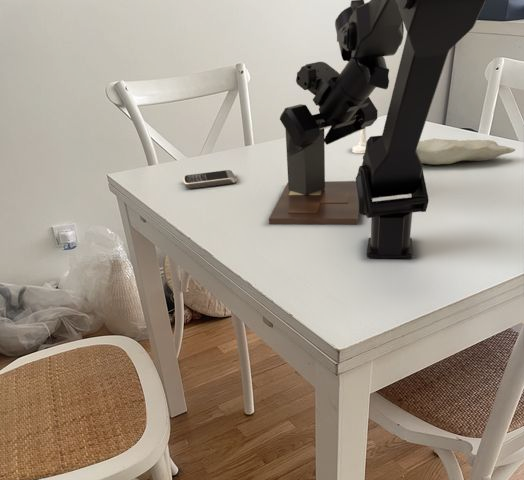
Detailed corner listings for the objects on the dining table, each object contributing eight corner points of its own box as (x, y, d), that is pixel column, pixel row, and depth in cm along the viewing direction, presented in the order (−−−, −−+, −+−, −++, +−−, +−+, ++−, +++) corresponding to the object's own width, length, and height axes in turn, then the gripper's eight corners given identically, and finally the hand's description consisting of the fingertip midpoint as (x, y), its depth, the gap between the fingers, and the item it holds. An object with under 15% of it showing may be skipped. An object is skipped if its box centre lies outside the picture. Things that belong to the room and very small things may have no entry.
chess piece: (350, 153, 126) (351, 107, 120) (353, 147, 130) (354, 102, 124) (371, 153, 124) (373, 106, 119) (374, 147, 128) (376, 102, 123)
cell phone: (183, 182, 117) (182, 175, 116) (233, 175, 118) (233, 169, 117) (184, 190, 112) (183, 183, 111) (237, 183, 113) (236, 177, 112)
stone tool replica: (390, 166, 110) (522, 163, 104) (391, 139, 108) (526, 134, 103) (390, 164, 123) (506, 161, 118) (391, 140, 122) (510, 136, 116)
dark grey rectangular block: (325, 188, 103) (324, 122, 96) (306, 195, 101) (304, 127, 94) (307, 183, 106) (305, 119, 100) (288, 190, 104) (285, 124, 97)
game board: (356, 224, 90) (356, 218, 89) (269, 224, 93) (268, 218, 93) (363, 186, 106) (363, 180, 105) (288, 186, 109) (287, 181, 109)
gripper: (367, 36, 90) (321, 102, 104) (284, 51, 81) (246, 121, 95) (401, 91, 89) (351, 150, 103) (322, 112, 80) (278, 174, 94)
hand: (307, 147), depth 99 cm, fingers open, 9 cm apart
